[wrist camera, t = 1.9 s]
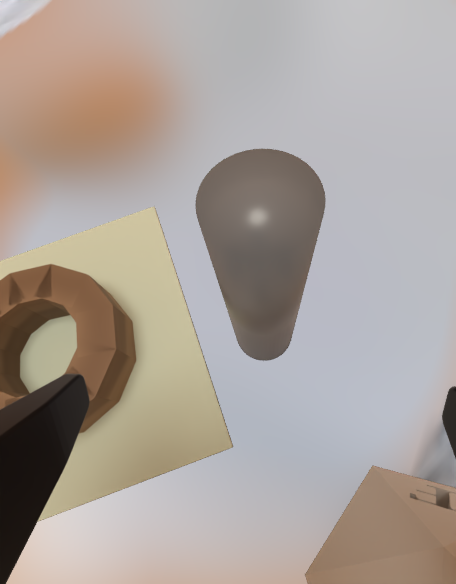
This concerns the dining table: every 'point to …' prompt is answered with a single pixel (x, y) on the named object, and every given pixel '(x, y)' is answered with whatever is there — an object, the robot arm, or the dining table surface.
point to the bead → (89, 327)
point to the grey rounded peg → (261, 242)
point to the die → (391, 534)
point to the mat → (146, 372)
